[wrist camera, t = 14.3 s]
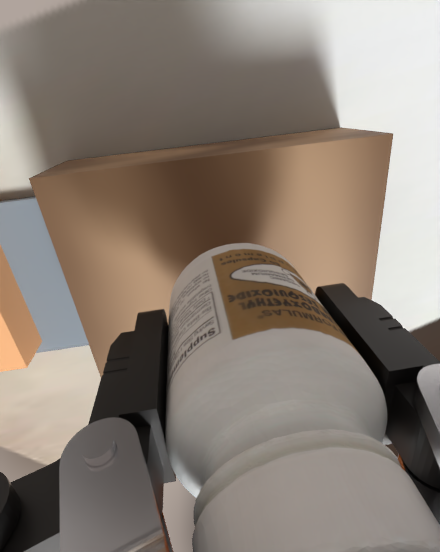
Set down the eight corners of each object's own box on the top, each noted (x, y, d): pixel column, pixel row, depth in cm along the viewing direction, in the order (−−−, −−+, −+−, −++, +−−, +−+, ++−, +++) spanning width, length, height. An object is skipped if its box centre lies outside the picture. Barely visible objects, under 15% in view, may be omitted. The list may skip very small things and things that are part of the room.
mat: (58, 193, 14) (55, 196, 14) (106, 337, 18) (104, 342, 18) (-120, 216, 14) (-127, 218, 14) (-34, 359, 18) (-38, 364, 17)
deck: (340, 127, 15) (393, 133, 11) (330, 299, 19) (365, 344, 15) (66, 161, 14) (29, 178, 10) (118, 331, 18) (104, 385, 15)
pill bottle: (326, 279, 11) (575, 560, 4) (250, 369, 12) (342, 690, 6) (216, 211, 10) (323, 477, 3) (144, 322, 11) (92, 683, 4)
